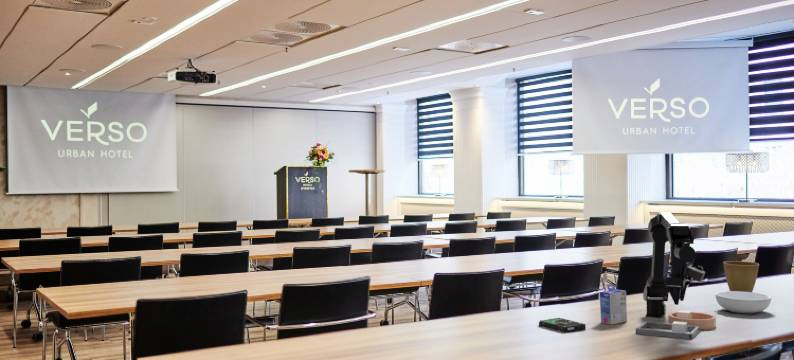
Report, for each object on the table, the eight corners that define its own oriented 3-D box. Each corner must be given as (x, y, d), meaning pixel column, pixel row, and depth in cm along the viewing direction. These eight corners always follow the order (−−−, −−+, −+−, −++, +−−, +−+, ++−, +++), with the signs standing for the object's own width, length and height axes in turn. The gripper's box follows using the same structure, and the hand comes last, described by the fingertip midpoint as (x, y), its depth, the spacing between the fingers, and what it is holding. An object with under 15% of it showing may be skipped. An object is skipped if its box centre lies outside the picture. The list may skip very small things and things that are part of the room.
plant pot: (720, 298, 332) (720, 263, 332) (727, 294, 344) (726, 260, 344) (756, 301, 324) (756, 265, 324) (761, 296, 336) (761, 262, 336)
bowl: (664, 326, 272) (664, 317, 272) (674, 319, 285) (673, 310, 285) (711, 331, 263) (711, 321, 263) (718, 323, 277) (718, 314, 277)
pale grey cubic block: (671, 334, 259) (671, 323, 259) (674, 332, 262) (674, 321, 262) (684, 335, 256) (684, 324, 256) (687, 333, 260) (687, 322, 260)
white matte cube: (677, 322, 275) (676, 312, 275) (679, 320, 279) (679, 310, 279) (689, 323, 273) (689, 313, 273) (691, 321, 276) (691, 311, 276)
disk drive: (586, 331, 268) (558, 324, 281) (586, 324, 268) (558, 317, 281) (565, 334, 263) (538, 327, 276) (564, 327, 263) (538, 319, 276)
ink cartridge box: (616, 319, 286) (615, 283, 286) (627, 321, 281) (627, 284, 281) (599, 322, 280) (599, 285, 280) (610, 325, 276) (610, 287, 276)
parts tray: (635, 333, 260) (635, 328, 260) (645, 326, 273) (645, 321, 273) (692, 339, 250) (691, 334, 250) (699, 331, 263) (699, 326, 263)
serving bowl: (716, 314, 294) (716, 297, 294) (714, 306, 314) (714, 290, 314) (773, 317, 287) (773, 300, 287) (768, 308, 306) (768, 292, 306)
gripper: (698, 263, 247) (698, 308, 247) (707, 257, 263) (707, 300, 263) (664, 261, 253) (664, 306, 253) (675, 256, 269) (675, 298, 269)
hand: (679, 302), depth 259 cm, fingers open, 9 cm apart
